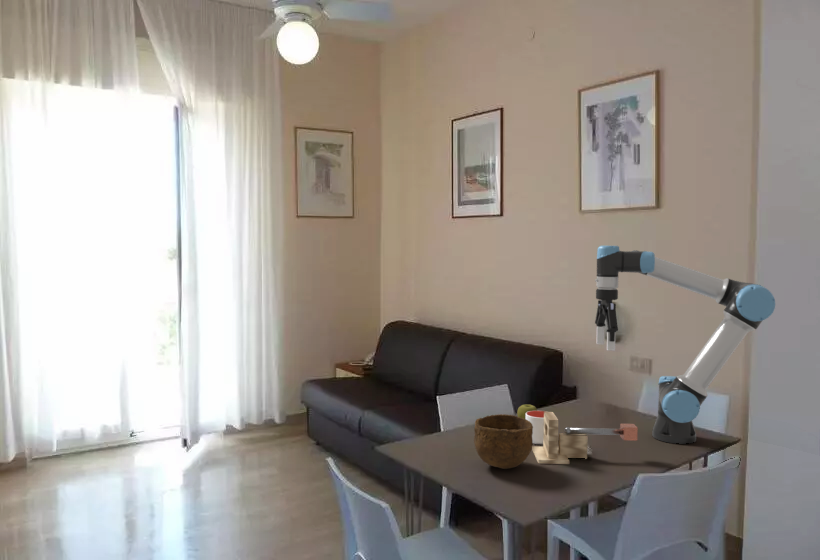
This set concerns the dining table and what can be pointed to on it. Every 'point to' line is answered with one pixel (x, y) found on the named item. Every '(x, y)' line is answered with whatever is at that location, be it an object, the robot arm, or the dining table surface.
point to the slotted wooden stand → (559, 444)
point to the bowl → (503, 440)
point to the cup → (536, 425)
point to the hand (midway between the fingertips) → (605, 347)
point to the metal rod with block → (608, 431)
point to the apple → (525, 410)
